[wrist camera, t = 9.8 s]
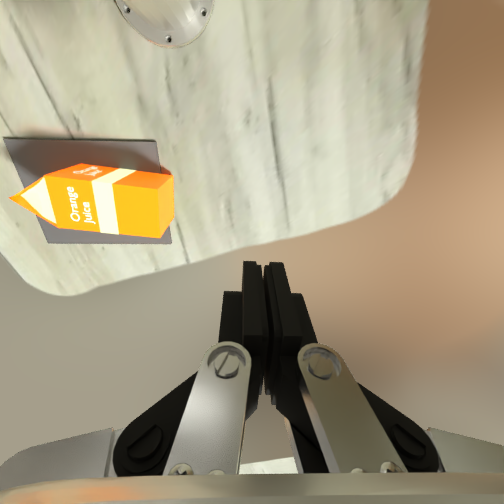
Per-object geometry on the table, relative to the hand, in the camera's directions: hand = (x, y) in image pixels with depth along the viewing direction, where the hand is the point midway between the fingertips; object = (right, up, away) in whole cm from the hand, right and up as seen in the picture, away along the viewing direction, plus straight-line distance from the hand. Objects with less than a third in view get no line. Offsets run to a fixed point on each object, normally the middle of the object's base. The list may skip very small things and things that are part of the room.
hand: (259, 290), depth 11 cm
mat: (-27, +11, +32) cm, 44 cm away
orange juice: (-14, +9, +29) cm, 33 cm away
